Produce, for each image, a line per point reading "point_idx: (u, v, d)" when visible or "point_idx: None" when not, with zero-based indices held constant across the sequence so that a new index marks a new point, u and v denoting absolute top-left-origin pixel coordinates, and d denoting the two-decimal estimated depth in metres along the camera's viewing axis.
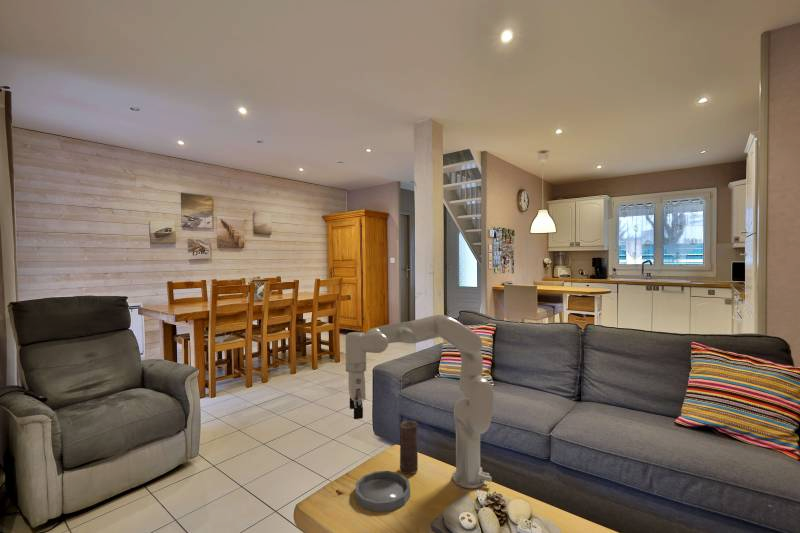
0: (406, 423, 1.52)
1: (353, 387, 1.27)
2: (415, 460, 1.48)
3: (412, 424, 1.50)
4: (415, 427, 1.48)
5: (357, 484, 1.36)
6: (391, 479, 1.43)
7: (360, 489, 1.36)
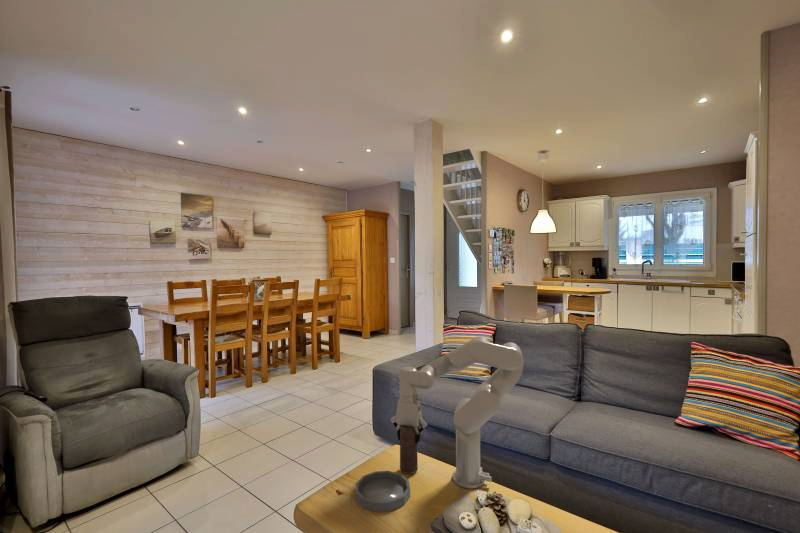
0: None
1: (417, 415, 1.47)
2: (415, 460, 1.48)
3: None
4: None
5: (357, 484, 1.36)
6: (391, 479, 1.43)
7: (360, 489, 1.36)
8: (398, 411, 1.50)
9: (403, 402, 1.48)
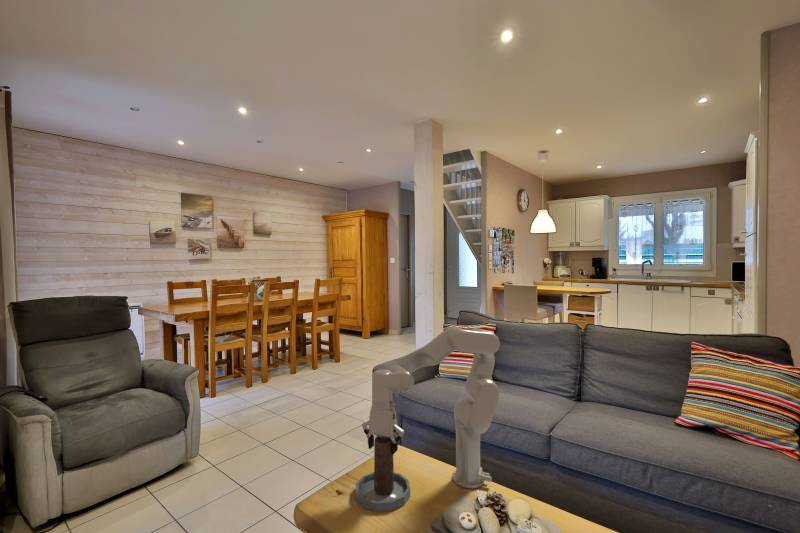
0: (381, 437, 1.36)
1: (392, 424, 1.32)
2: (390, 479, 1.33)
3: (387, 439, 1.35)
4: (390, 442, 1.33)
5: (357, 484, 1.36)
6: None
7: (360, 489, 1.36)
8: (371, 419, 1.35)
9: (376, 409, 1.32)
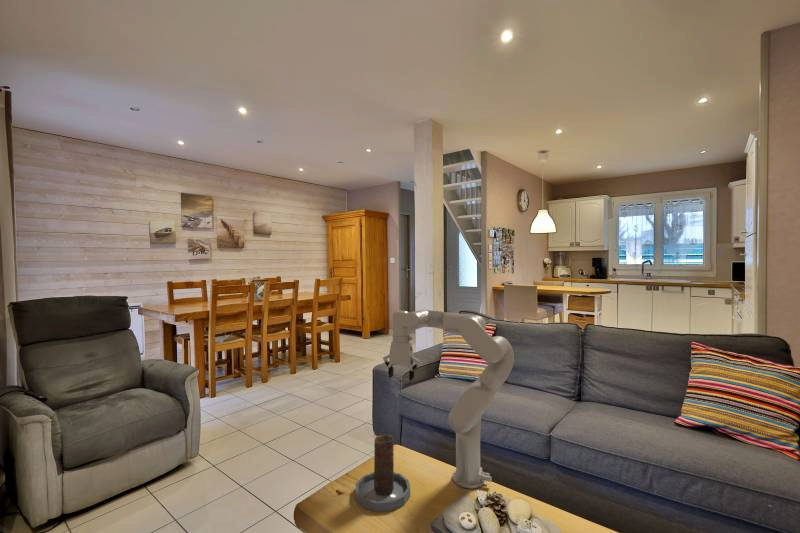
0: (381, 437, 1.36)
1: (409, 354, 1.55)
2: (390, 479, 1.33)
3: (388, 439, 1.35)
4: (391, 442, 1.33)
5: (357, 484, 1.36)
6: None
7: (360, 489, 1.36)
8: (391, 351, 1.58)
9: (396, 342, 1.56)
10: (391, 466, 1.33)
